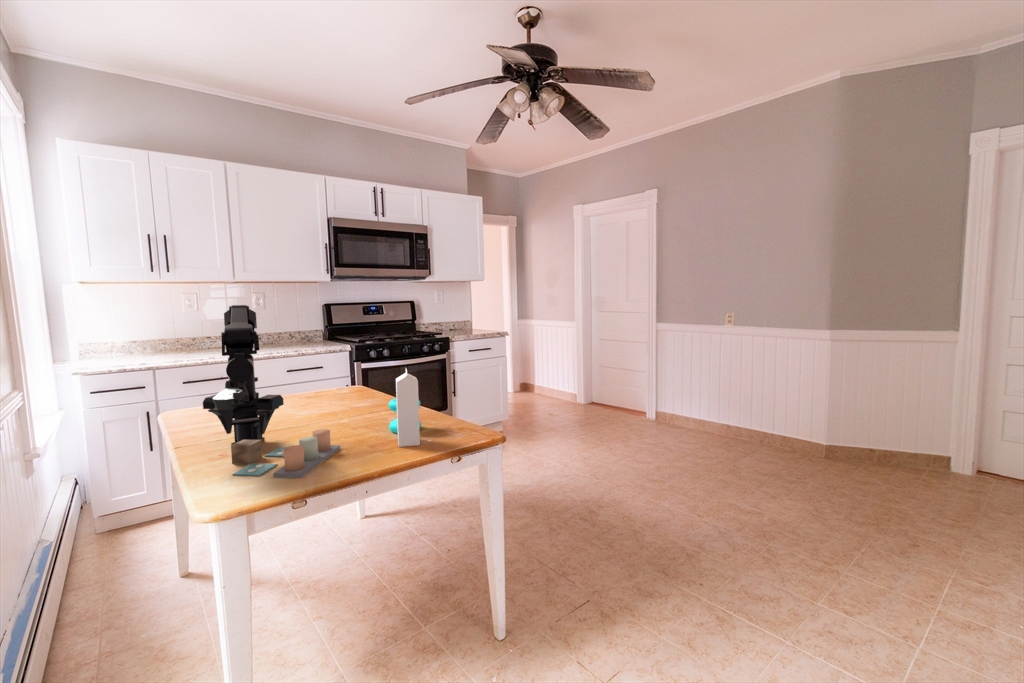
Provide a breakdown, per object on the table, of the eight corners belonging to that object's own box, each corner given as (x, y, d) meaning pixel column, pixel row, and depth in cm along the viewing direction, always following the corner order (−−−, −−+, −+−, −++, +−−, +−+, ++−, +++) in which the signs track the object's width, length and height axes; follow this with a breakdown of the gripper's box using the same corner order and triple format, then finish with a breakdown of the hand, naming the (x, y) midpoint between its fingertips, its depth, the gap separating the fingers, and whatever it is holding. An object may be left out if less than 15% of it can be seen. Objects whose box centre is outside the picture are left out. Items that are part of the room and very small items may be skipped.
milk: (398, 447, 133) (395, 371, 130) (397, 441, 138) (394, 367, 136) (420, 445, 134) (417, 369, 132) (418, 438, 140) (415, 366, 138)
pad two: (232, 475, 113) (232, 472, 113) (251, 464, 120) (251, 462, 120) (260, 476, 112) (260, 473, 112) (277, 465, 119) (277, 463, 119)
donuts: (415, 403, 143) (383, 403, 144) (416, 435, 144) (384, 434, 145) (424, 396, 153) (394, 396, 154) (424, 425, 154) (395, 425, 155)
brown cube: (232, 464, 121) (230, 445, 120) (244, 457, 126) (243, 439, 125) (250, 464, 120) (249, 445, 120) (262, 457, 125) (261, 439, 125)
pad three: (265, 456, 126) (265, 454, 126) (280, 448, 133) (279, 446, 133) (290, 457, 125) (290, 455, 125) (303, 448, 132) (303, 446, 132)
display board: (273, 477, 111) (271, 452, 111) (316, 448, 132) (315, 427, 132) (301, 477, 111) (299, 453, 110) (340, 448, 132) (339, 428, 131)
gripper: (183, 381, 113) (188, 443, 115) (256, 381, 112) (261, 444, 114) (216, 373, 124) (220, 429, 126) (283, 373, 123) (286, 431, 125)
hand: (245, 433), depth 122 cm, fingers open, 9 cm apart
